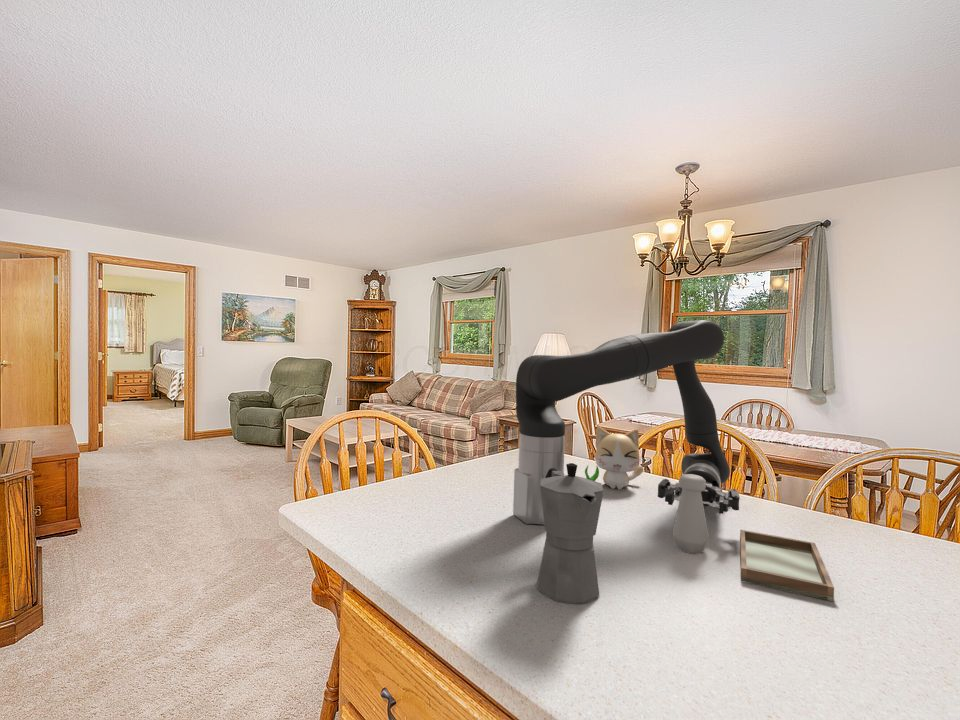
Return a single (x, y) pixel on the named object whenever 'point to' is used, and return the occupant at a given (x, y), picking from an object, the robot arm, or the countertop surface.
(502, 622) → the countertop surface
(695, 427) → the robot arm
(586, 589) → the coffeepot
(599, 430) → the kitten
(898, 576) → the countertop surface
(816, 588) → the tray
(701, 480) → the salt shaker
